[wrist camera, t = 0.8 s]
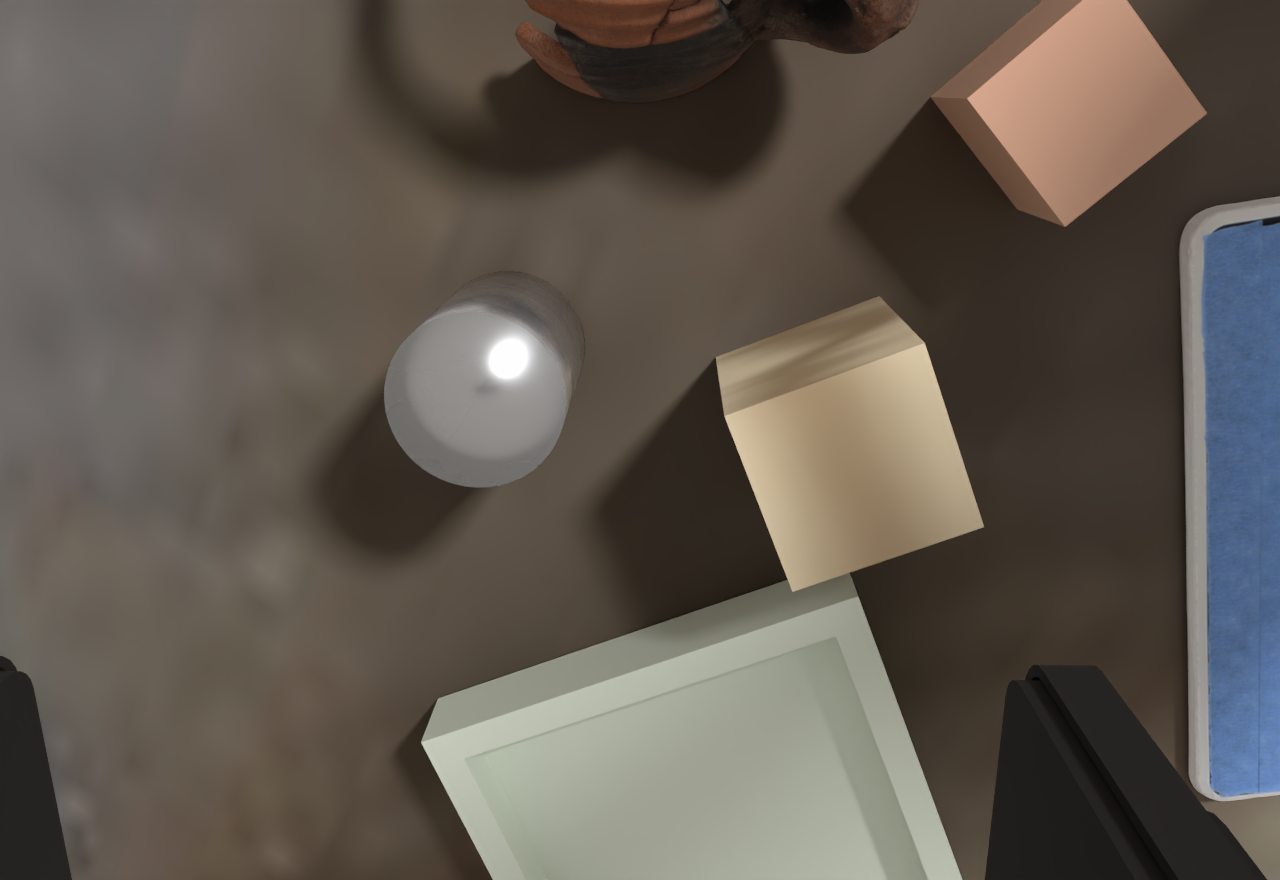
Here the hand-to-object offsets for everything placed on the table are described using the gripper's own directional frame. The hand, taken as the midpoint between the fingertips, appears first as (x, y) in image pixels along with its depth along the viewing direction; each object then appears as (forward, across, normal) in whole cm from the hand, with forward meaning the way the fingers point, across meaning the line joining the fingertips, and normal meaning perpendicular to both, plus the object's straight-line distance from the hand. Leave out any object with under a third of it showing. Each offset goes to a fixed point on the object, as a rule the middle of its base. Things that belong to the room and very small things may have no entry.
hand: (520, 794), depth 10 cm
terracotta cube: (+22, -11, -6) cm, 26 cm away
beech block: (+22, -6, +2) cm, 23 cm away
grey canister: (+22, +3, +1) cm, 22 cm away
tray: (+22, -3, +16) cm, 28 cm away
